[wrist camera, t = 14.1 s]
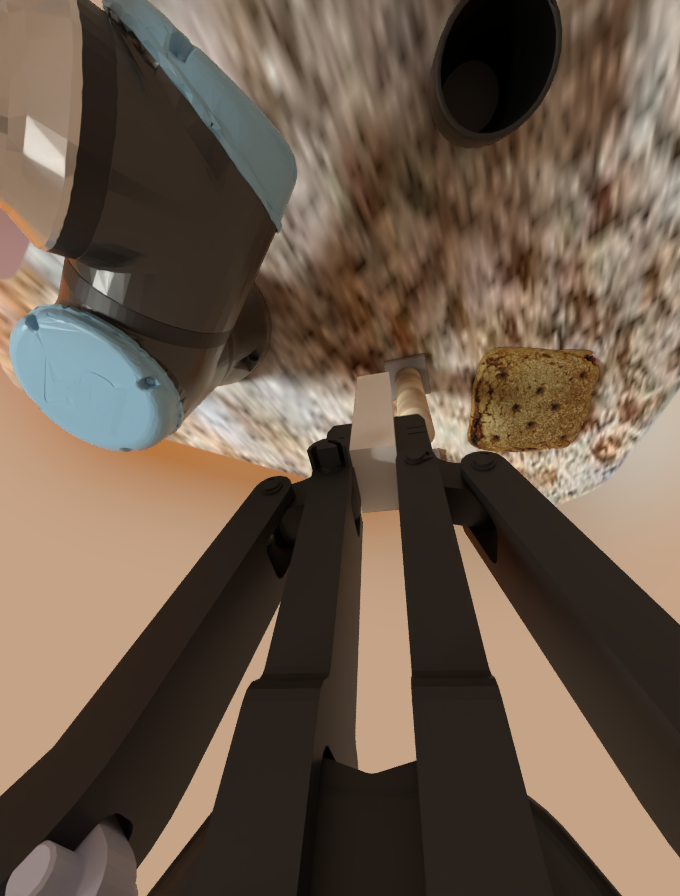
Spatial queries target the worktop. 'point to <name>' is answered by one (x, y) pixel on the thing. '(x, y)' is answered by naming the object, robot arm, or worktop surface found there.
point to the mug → (493, 68)
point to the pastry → (530, 398)
